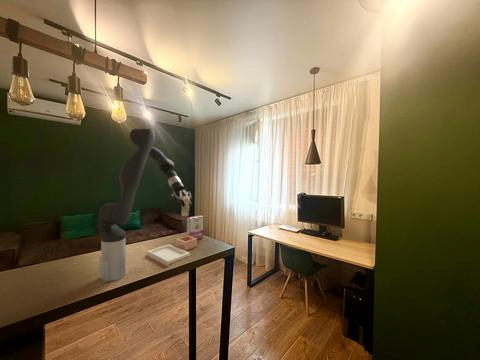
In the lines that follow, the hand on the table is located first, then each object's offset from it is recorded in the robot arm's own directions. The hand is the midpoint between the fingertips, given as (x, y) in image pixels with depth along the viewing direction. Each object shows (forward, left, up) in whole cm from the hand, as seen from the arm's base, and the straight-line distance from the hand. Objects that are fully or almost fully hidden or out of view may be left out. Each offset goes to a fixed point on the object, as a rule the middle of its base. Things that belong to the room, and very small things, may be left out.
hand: (187, 205), depth 120 cm
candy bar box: (+16, +10, -28) cm, 34 cm away
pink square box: (+2, +2, -28) cm, 28 cm away
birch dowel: (0, +2, -7) cm, 7 cm away
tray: (-12, 0, -28) cm, 30 cm away
